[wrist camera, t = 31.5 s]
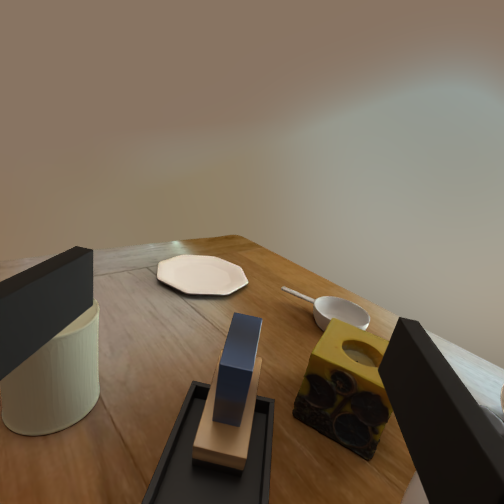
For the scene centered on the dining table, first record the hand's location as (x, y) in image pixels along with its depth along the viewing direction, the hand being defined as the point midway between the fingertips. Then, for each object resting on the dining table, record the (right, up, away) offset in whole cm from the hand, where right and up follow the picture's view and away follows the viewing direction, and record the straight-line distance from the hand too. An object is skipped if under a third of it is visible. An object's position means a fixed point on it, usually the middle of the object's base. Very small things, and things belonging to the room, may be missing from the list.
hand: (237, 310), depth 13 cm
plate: (-11, -4, +57) cm, 58 cm away
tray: (-3, -19, +17) cm, 26 cm away
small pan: (+14, -11, +49) cm, 52 cm away
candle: (+12, -19, +27) cm, 35 cm away
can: (-22, -14, +22) cm, 34 cm away
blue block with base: (-2, -16, +21) cm, 27 cm away
